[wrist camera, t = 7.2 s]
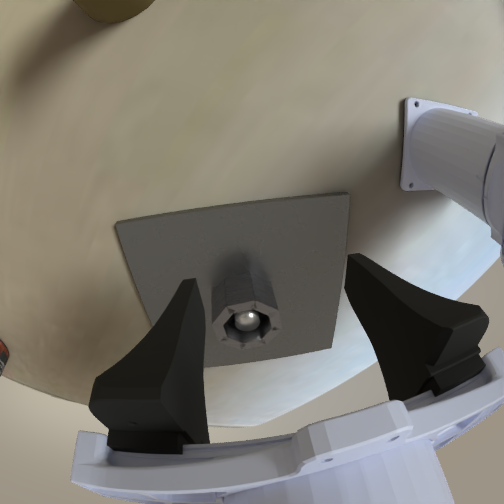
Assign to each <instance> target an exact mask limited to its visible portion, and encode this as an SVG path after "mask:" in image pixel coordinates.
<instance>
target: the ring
mask: <svg viewBox="0 0 504 504" xmlns="http://www.w3.org/2000/svg"><path fill="white" fill-rule="evenodd" d="M211 304H212V326H213V329H214V331H215V334H216V336H217V338H218V341H219V342H220V343H223V344H226V345H228V346H231V347H234V348H237V349H240V350H243V349H248V348H253V347H258V346H263V345H267V344H268V343H269V342H270V341H271V340H272V339H273V338H274V337H275V336H276V335H277V334H278V333H279V332H280V331H281V330H282V326H281V320H280V314H279V309H278V306H277V302H276V299H275V295H274V292H273V288H272V285H271V282H269V281H267V280H265V279H263V278H260V277H258V276H256V275H254V274H252V273H250V272H249V273H245V274H240V275H236V276H231V277H227V278H224V279H223V280H222V282H221V283H220V284H219V286H218V287H217V289H216V290H215V291H214V293H213V294H212V295H211ZM251 309H254V310H256V311H258V314H259V320H260V324H259V326H258V327H257V328H256V329H254V330H251V331H242V330H239V329H238V328H237V327H236V325H235V316H234V313H237V312H242V311H247V310H251Z"/></svg>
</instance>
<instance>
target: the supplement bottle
mask: <svg viewBox="0 0 504 504" xmlns="http://www.w3.org/2000/svg"><path fill="white" fill-rule="evenodd" d="M8 358H9V353H8V350H7V348H6V346H5V345H4V344H3V343H2V341H1V340H0V376H1V374H2V372H3V369H4V367H5V365H6V362H7V360H8Z"/></svg>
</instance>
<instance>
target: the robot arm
mask: <svg viewBox="0 0 504 504" xmlns="http://www.w3.org/2000/svg"><path fill="white" fill-rule="evenodd" d="M415 102H416V106H415V105H414V103H415ZM410 183H411V186H410V187H409V184H410ZM400 187H401V189H403V190H404V191H417V190H437V191H439V192H441V193H442V194H444V195H445V196H447V197H448V198H450V199H452V200H453V201H455V202H456V203H458V204H459V205H461V206H462V207H464V208H465V209H467V210H468V211H470V212H471V213H472V214H474V215H475V216H477V217H478V218H479V219H481V220H482V221H484V222H485V223H486V224H488V225H489V226H490V227H491V238H492V239H494V240H495V241H496V242H497V243H499V244H500V245H501V251H500V255H501V261H502V264H503V266H504V125H502V124H499V123H496V122H493V121H490V120H487V119H484V118H480V117H479V116H478V113H477V112H476V111H472V110H468V109H464V108H460V107H456V106H452V105H448V104H443V103H438V102H433V101H428V100H423V99H417V98H411V97H408V98H406V100H405V123H404V146H403V160H402V172H401V182H400ZM344 289H345V291H346V294H347V297H348V299H349V302H350V304H351V306H352V308H353V310H354V312H355V314H356V315H357V317H358V319H359V321H360V323H361V324H362V326H363V328H364V330H365V332H366V334H367V335H368V337H369V339H370V341H371V344H372V346H373V348H374V351H375V354H376V356H377V359H378V362H379V365H380V368H381V371H382V374H383V377H384V380H385V384H386V388H387V391H388V396H389V400H390V401H386V402H383V403H380V404H377V405H374V406H371V407H368V408H365V409H361V410H358V411H355V412H351V413H348V414H344V415H341V416H337V417H334V418H329V419H326V420H321V421H318V422H315V423H312V424H309V425H307V426H305V427H303V428H301V429H300V430H298V431H297V432H296V433H291V434H286V435H280V436H274V437H269V438H261V439H254V440H246V441H238V442H226V443H212V444H210V440H209V433H208V425H207V417H206V407H205V396H204V381H203V366H204V350H205V335H206V322H205V309H204V306H203V302H202V299H201V295H200V291H199V288H198V284H197V280H196V278H191V279H184V280H182V282H181V283H180V285H179V287H178V289H177V290H176V292H175V294H174V296H173V297H172V299H171V301H170V302H169V304H168V306H167V307H166V309H165V310H164V312H163V313H162V315H161V316H160V318H159V319H158V321H157V322H156V323H155V325H154V326H153V327H152V329H151V330H150V331H149V332H148V334H147V335H146V336H145V337H144V338H143V339H142V340H141V341H140V342H139V343H138V344H137V345H136V346H135V347H134V348H133V349H132V350H131V351H130V352H129V353H128V354H127V355H126V356H125V357H124V358H122V359H121V360H120V361H119V362H117V363H116V364H115V365H114V366H112V367H111V368H109V369H108V370H106V371H105V372H104V373H102V374H101V375H99V376H98V377H96V379H95V382H94V385H93V388H92V393H91V397H90V402H89V406H88V407H89V409H90V411H91V413H92V414H93V415H94V416H95V417H96V418H97V419H98V420H99V421H100V422H101V423H103V424H104V425H105V426H106V427H107V428H108V429H109V432H108V436H107V435H104V434H101V433H95V432H87V431H78V436H77V441H76V447H75V452H74V459H73V465H72V472H71V482H73V483H75V484H77V485H79V486H81V487H83V488H86V489H88V490H90V491H92V492H95V493H97V494H99V495H102V496H105V497H110V498H115V499H120V500H126V501H132V502H138V503H145V504H455V503H454V500H453V497H452V494H451V492H450V489H449V486H448V483H447V481H446V478H445V476H444V473H443V470H442V468H441V465H440V463H439V460H438V458H437V455H436V453H435V451H436V450H438V449H440V448H441V447H443V446H445V445H446V444H448V443H450V442H451V441H453V440H454V439H456V438H457V437H459V436H461V435H462V434H463V433H465V432H466V431H468V430H470V429H471V428H473V427H474V426H476V425H477V424H478V423H480V422H481V421H483V420H484V419H485V418H487V417H488V416H490V415H491V414H492V413H494V412H495V411H496V410H497V409H499V408H500V407H501V406H502V405H503V404H504V352H503V350H502V349H501V348H500V347H497V348H496V349H494V350H492V351H491V352H489V353H487V354H486V355H484V356H483V357H482V358H481V357H480V356H479V353H480V352H481V350H480V348H479V347H478V344H479V342H480V340H481V339H482V337H483V335H484V333H485V332H486V330H487V327H488V324H489V318H488V316H487V315H486V314H485V312H484V311H483V310H482V309H481V307H480V306H478V305H473V304H467V303H462V302H458V301H455V300H451V299H447V298H444V297H441V296H438V295H436V294H433V293H430V292H428V291H426V290H423V289H421V288H419V287H417V286H415V285H413V284H411V283H409V282H407V281H405V280H403V279H401V278H400V277H398V276H396V275H395V274H393V273H391V272H390V271H388V270H386V269H385V268H383V267H382V266H380V265H378V264H377V263H375V262H374V261H372V260H370V259H369V258H367V257H366V256H364V255H362V254H360V253H356V254H350V255H348V260H347V269H346V278H345V287H344Z"/></svg>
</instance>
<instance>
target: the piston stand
mask: <svg viewBox="0 0 504 504" xmlns="http://www.w3.org/2000/svg"><path fill="white" fill-rule="evenodd" d="M349 205H350V194H349V193H348V192H341V193H328V194H317V195H306V196H295V197H285V198H276V199H267V200H258V201H249V202H241V203H233V204H225V205H218V206H210V207H203V208H196V209H189V210H183V211H176V212H170V213H163V214H157V215H151V216H145V217H139V218H133V219H128V220H122V221H117V223H116V224H115V226H116V229H117V232H118V235H119V238H120V241H121V245H122V248H123V251H124V254H125V256H126V259H127V262H128V265H129V268H130V271H131V273H132V276H133V279H134V282H135V284H136V287H137V289H138V292H139V295H140V297H141V300H142V302H143V305H144V307H145V309H146V312H147V314H148V317H149V319H150V321H151V324H152V326H154V325H155V323H156V322H157V321H158V319H159V318H160V316H161V315H162V313H163V312H164V310H165V309H166V307H167V306H168V304H169V302H170V301H171V299H172V297H173V296H174V294H175V292H176V290H177V289H178V287H179V285H180V283H181V282H182V280H184V279H191V278H196V280H197V284H198V288H199V291H200V295H201V299H202V302H203V306H204V309H205V322H206V335H205V350H204V366H203V368H205V367H215V366H224V365H233V364H241V363H249V362H256V361H263V360H269V359H276V358H282V357H288V356H293V355H299V354H304V353H309V352H314V351H319V350H324V349H329V348H331V347H332V342H333V336H334V331H335V325H336V319H337V312H338V306H339V299H340V292H341V285H342V277H343V269H344V261H345V252H346V242H347V231H348V219H349ZM249 272H250V273H252V274H254V275H256V276H258V277H260V278H263V279H265V280H267V281H269V282H271V285H272V288H273V292H274V295H275V299H276V302H277V306H278V309H279V314H280V320H281V326H282V330H281V331H280V332H279V333H278V334H277V335H276V336H275V337H274V338H273V339H272V340H271V341H270V342H269V343H268V344H267V345H263V346H258V347H253V348H248V349H243V350H240V349H237V348H234V347H231V346H228V345H226V344H223V343H220V342H219V341H218V338H217V336H216V334H215V331H214V329H213V326H212V304H211V295H212V294H213V293H214V291H215V290H216V289H217V287H218V286H219V284H220V283H221V282H222V280H223V279H224V278H227V277H231V276H236V275H240V274H245V273H249ZM234 316H235V325H236V327H237V328H238V329H239V330H242V331H251V330H254V329H256V328H257V327H258V326H259V324H260V320H259V314H258V311H256V310H254V309H251V310H247V311H242V312H237V313H234Z"/></svg>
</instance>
